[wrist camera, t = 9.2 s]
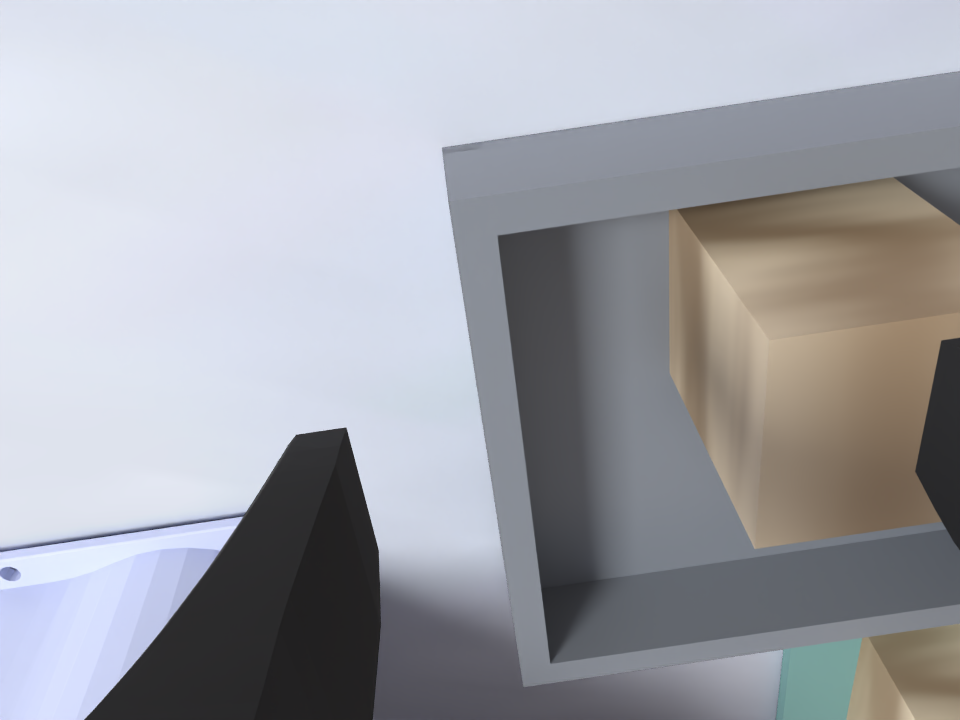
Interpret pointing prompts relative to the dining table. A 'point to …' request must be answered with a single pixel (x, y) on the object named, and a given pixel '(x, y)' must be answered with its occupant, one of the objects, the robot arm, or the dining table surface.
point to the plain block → (814, 351)
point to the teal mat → (817, 681)
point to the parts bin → (665, 384)
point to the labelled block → (908, 676)
